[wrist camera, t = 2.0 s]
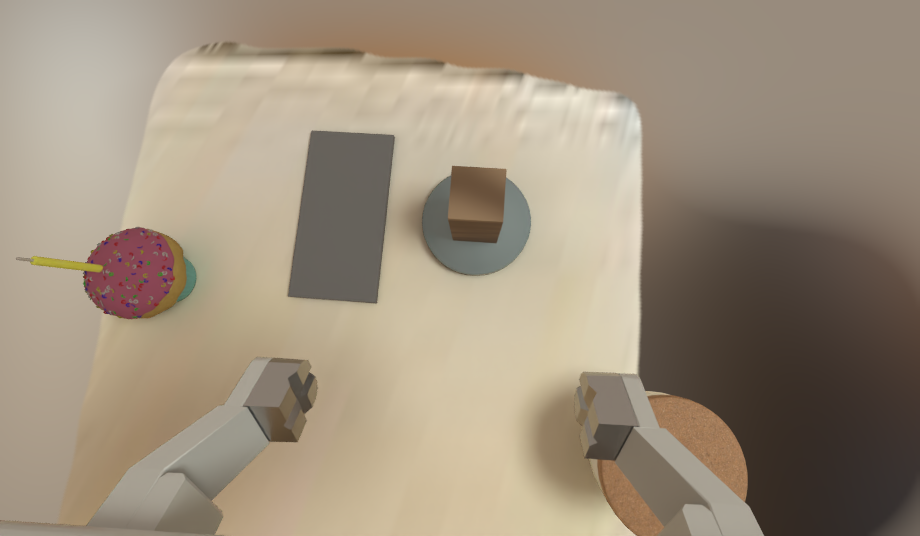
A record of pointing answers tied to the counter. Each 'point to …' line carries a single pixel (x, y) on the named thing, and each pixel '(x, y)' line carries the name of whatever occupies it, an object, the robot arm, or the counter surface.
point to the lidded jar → (699, 436)
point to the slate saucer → (476, 254)
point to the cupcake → (133, 273)
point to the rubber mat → (342, 217)
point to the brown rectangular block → (476, 203)
